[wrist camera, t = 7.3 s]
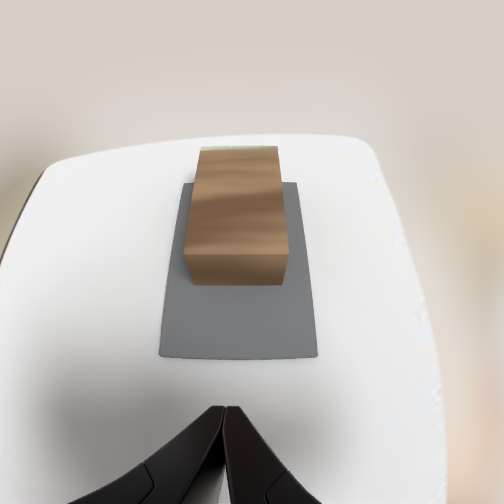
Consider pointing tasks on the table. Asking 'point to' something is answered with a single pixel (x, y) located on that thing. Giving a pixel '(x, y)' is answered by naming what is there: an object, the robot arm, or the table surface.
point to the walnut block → (237, 218)
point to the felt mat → (240, 303)
